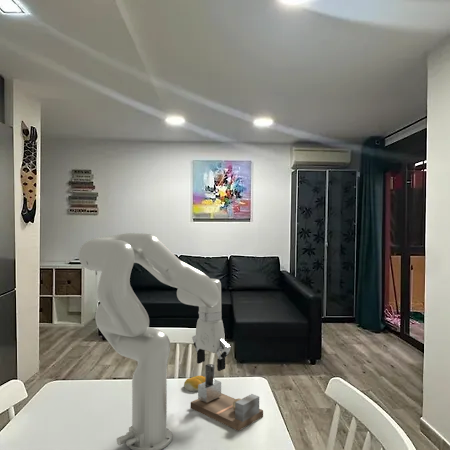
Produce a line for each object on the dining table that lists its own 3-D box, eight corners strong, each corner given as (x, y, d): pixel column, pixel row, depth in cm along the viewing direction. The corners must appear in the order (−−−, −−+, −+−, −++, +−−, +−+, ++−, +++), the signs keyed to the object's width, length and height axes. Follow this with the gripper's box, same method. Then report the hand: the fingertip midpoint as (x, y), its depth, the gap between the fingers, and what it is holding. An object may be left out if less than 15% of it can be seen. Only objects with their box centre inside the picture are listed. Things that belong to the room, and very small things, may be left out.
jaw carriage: (206, 402, 131) (206, 370, 130) (198, 399, 133) (198, 366, 133) (221, 396, 136) (221, 364, 136) (212, 392, 138) (212, 361, 138)
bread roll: (212, 386, 150) (212, 376, 150) (195, 394, 143) (195, 383, 143) (197, 380, 156) (197, 370, 156) (180, 387, 149) (180, 376, 149)
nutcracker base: (238, 431, 118) (238, 407, 118) (190, 408, 132) (190, 387, 132) (263, 416, 127) (263, 394, 127) (215, 396, 141) (215, 376, 141)
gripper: (184, 313, 137) (185, 362, 138) (221, 322, 126) (221, 376, 126) (200, 309, 143) (201, 356, 144) (236, 318, 131) (237, 369, 132)
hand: (210, 366), depth 135 cm, fingers open, 9 cm apart
